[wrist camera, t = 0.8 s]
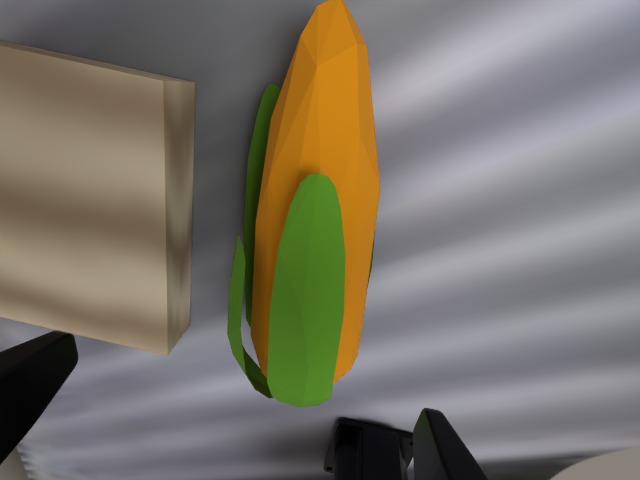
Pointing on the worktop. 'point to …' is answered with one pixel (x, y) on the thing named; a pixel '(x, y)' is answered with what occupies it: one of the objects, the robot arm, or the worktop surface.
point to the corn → (309, 217)
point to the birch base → (95, 198)
